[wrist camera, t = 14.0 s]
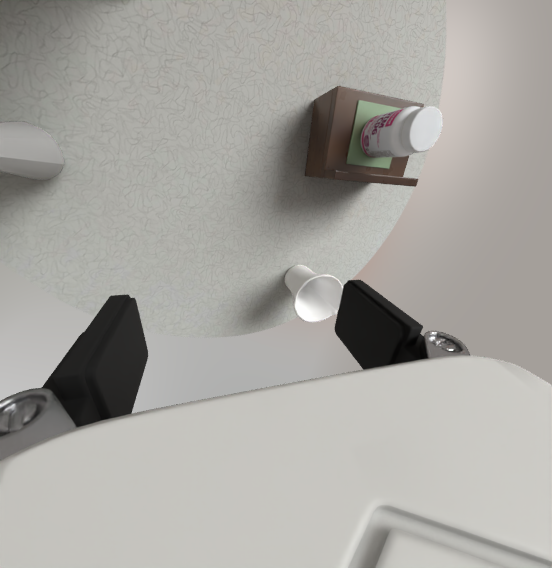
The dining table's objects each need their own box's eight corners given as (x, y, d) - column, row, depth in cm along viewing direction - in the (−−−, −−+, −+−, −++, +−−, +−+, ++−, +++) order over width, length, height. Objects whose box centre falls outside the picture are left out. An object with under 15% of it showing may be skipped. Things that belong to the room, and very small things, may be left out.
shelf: (314, 99, 33) (351, 77, 25) (388, 113, 37) (444, 98, 28) (304, 175, 38) (333, 179, 29) (372, 181, 41) (416, 186, 33)
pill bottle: (366, 111, 29) (419, 93, 22) (395, 120, 31) (454, 107, 23) (354, 153, 31) (399, 150, 24) (382, 161, 33) (433, 160, 25)
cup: (297, 303, 49) (317, 333, 40) (267, 278, 44) (282, 305, 36) (328, 274, 48) (355, 298, 39) (301, 244, 43) (325, 264, 35)
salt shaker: (44, 187, 30) (-51, 200, 19) (-2, 139, 27) (-149, 122, 16) (84, 164, 30) (12, 164, 19) (41, 114, 27) (-74, 79, 16)
